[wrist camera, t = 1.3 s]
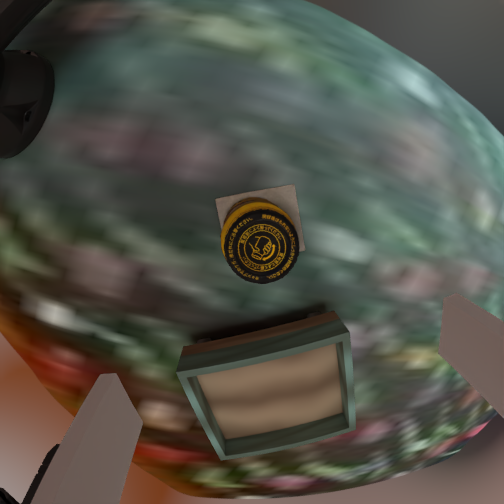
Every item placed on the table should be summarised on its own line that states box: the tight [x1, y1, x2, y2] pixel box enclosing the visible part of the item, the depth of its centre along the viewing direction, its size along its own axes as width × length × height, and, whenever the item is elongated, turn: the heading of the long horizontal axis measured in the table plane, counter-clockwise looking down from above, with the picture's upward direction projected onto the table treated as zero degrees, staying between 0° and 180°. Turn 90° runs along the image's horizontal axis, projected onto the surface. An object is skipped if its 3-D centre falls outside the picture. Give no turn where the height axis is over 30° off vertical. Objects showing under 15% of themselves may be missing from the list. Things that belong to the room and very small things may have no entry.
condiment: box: [215, 184, 305, 284], centre depth 26 cm, size 7×8×12 cm
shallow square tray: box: [176, 311, 356, 460], centre depth 32 cm, size 15×17×8 cm
